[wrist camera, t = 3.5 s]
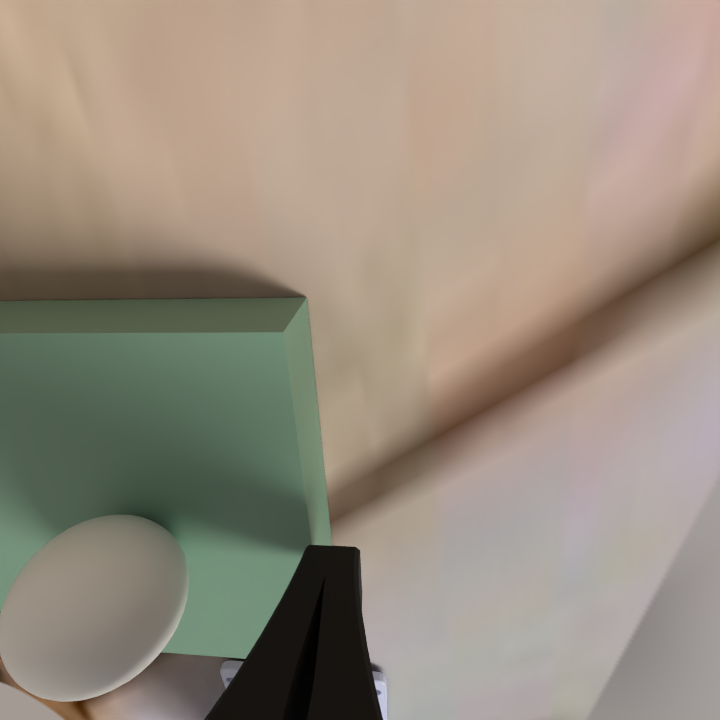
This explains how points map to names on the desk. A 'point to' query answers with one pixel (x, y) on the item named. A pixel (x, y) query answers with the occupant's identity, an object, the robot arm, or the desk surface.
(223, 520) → the putting board
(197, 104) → the desk surface
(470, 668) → the desk surface
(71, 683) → the ball
